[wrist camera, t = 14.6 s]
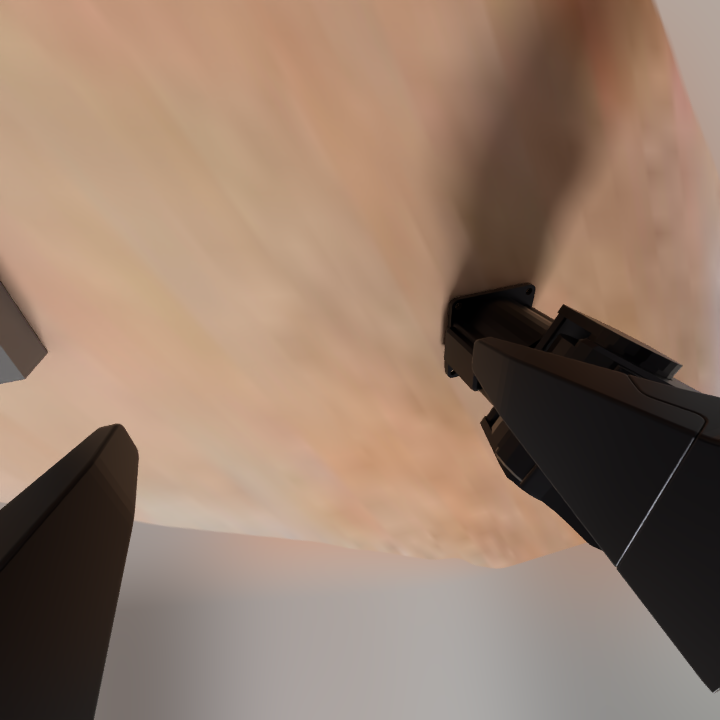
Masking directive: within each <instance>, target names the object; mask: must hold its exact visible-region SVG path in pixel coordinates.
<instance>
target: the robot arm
mask: <svg viewBox="0 0 720 720" xmlns="http://www.w3.org/2000/svg"><path fill="white" fill-rule="evenodd" d="M527 290H528V291H527ZM526 291H527V292H526ZM534 294H535V286H534V285H532V284H530V283H524V284H519V285H514V286H509V287H504V288H499V289H494V290H489V291H485V292H480V293H475V294H470V295H465V296H460V297H456V298H453V299H452V300H451V302H450V304H449V314H448V328H447V330H446V335H445V352H444V360H445V361H446V363H445V373H446V374H447V375H448V377H450V378H453V377H457V376H460V377H461V379H462V380H463V381H464V382H465V383H466V384H467V385H468V386H469V387H470V388H471V389H472V390H473V391H480V392H481V393H482V394H483V395H484V396H485V397H486V398H487V399H488V401H489V402H490V403H491V404H492V405H493V408H492V409H491V411H490V412H489V414H488V415H487V416H485V417H484V418H483V419H482V421H481V422H480V424H481V426H482V428H483V430H484V432H485V435H486V437H487V439H488V441H489V443H490V445H491V447H492V449H493V452H494V454H495V456H496V458H497V460H498V462H499V464H500V466H501V468H502V469H503V471H504V473H505V475H506V477H507V478H508V479H510V480H511V481H513V482H514V483H515V484H516V485H517V486H518V487H519V488H521V489H522V490H523V491H525V492H526V493H528V494H529V495H531V496H533V497H534V498H536V499H538V500H540V501H542V502H544V503H545V504H546V505H547V506H549V507H550V508H551V509H552V510H554V511H555V512H556V513H557V514H558V515H559V516H560V517H562V518H563V519H564V520H565V521H566V522H567V523H568V524H569V525H570V526H571V527H572V528H573V529H574V530H575V531H576V532H577V533H578V534H579V535H580V536H581V537H582V538H583V539H584V540H585V541H586V542H587V543H589V544H590V545H591V546H593V547H596V548H598V549H600V550H602V551H603V552H604V553H605V554H606V555H607V557H608V558H609V559H610V561H611V562H612V563H613V565H614V566H615V567H617V570H618V572H619V573H620V574H621V575H622V577H623V578H624V579H625V581H626V582H627V583H628V585H629V586H630V587H631V588H632V590H633V591H634V592H635V594H636V595H637V596H638V598H639V599H640V600H641V602H642V603H643V604H644V606H645V607H646V608H647V609H648V611H649V612H650V613H651V615H652V616H653V617H654V619H655V620H656V621H657V623H658V624H659V625H660V626H661V628H662V629H663V630H664V632H665V633H666V634H667V636H668V637H669V638H670V640H671V641H672V642H673V643H674V645H675V646H676V647H677V649H678V650H679V651H680V653H681V654H682V655H683V656H684V658H685V659H686V660H687V662H688V663H689V664H690V666H691V667H692V668H693V670H694V671H695V672H696V674H697V675H698V676H699V677H700V679H701V680H702V681H703V682H704V684H705V685H706V686H707V687H708V688H709V689H710V690H711V691H712V692H713V693H716V692H717V691H719V690H720V397H716V396H712V395H707V394H703V393H701V392H699V391H697V390H695V389H693V388H692V387H690V386H688V385H686V384H684V383H682V382H680V381H679V380H677V379H675V378H673V376H674V375H675V374H676V373H677V372H678V370H679V369H680V368H681V367H682V365H681V364H679V363H677V362H676V361H674V360H672V359H671V358H669V357H667V356H665V355H664V354H662V353H660V352H658V351H657V350H655V349H653V348H651V347H650V346H648V345H646V344H644V343H642V342H640V341H638V340H636V339H634V338H632V337H630V336H628V335H626V334H624V333H623V332H621V331H619V330H617V329H615V328H613V327H611V326H609V325H606V324H604V323H602V322H600V321H598V320H596V319H594V318H592V317H589V316H587V315H585V314H583V313H581V312H579V311H577V310H574V309H572V308H570V307H568V306H566V305H564V304H563V305H562V307H561V308H560V310H559V311H558V312H557V313H559V314H558V316H557V317H556V318H555V320H554V319H552V318H550V317H549V316H547V315H545V314H543V313H542V312H540V311H538V310H537V309H535V308H533V307H532V304H533V299H534ZM457 303H459V305H458V306H457V307H455V306H456V304H457ZM452 370H453V371H452ZM451 371H452V372H451ZM138 461H139V454H138V450H137V448H136V446H135V444H134V443H133V441H132V439H131V438H130V436H129V434H128V433H127V431H126V429H125V428H124V427H123V426H122V425H121V424H112V425H108V426H104V427H100V428H98V429H97V430H96V431H95V432H93V433H92V434H91V435H90V436H88V437H87V438H86V439H85V440H84V441H82V442H81V443H80V444H79V445H78V446H76V447H75V448H74V449H73V450H72V451H70V452H69V453H68V454H67V455H66V456H64V457H63V458H62V459H61V460H60V461H58V462H57V463H56V464H55V465H54V466H52V467H51V468H50V469H49V470H48V471H46V472H45V473H44V474H43V475H42V476H40V477H39V478H38V479H37V480H36V481H34V482H33V483H32V484H31V485H30V486H28V487H27V488H26V489H25V490H24V491H22V492H21V493H20V494H19V495H18V496H16V497H15V498H14V499H13V500H12V501H10V502H9V503H8V504H7V505H6V506H4V507H3V508H2V509H1V510H0V720H94V716H95V711H96V706H97V701H98V696H99V691H100V686H101V681H102V676H103V671H104V666H105V662H106V657H107V651H108V647H109V641H110V636H111V632H112V627H113V622H114V617H115V612H116V606H117V602H118V597H119V592H120V587H121V581H122V577H123V571H124V566H125V562H126V556H127V552H128V547H129V542H130V537H131V532H132V527H133V521H134V514H135V503H136V489H137V475H138Z"/></svg>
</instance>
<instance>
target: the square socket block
mask: <svg viewBox="0 0 720 720" xmlns="http://www.w3.org/2000/svg"><path fill="white" fill-rule="evenodd" d="M47 353H48V352H47V351H46V349H45V348H44V346H43V345H42V343H41V342H40V340H39V339H38V337H37V336H36V334H35V333H34V331H33V330H32V328H31V327H30V325H29V324H28V322H27V321H26V319H25V318H24V316H23V315H22V313H21V312H20V310H19V309H18V307H17V306H16V304H15V303H14V301H13V300H12V298H11V297H10V295H9V294H8V292H7V291H6V289H5V288H4V286H3V285H2V283H1V282H0V384H3V383H8V382H13V381H18V380H23V379H26V377H27V376H28V375H29V374H30V373H31V372H32V371H33V369H34V368H35V367H36V366H37V365H38V364H39V363H40V361H41V360H42V359H43V358H44V357H45V356H46V354H47Z"/></svg>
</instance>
